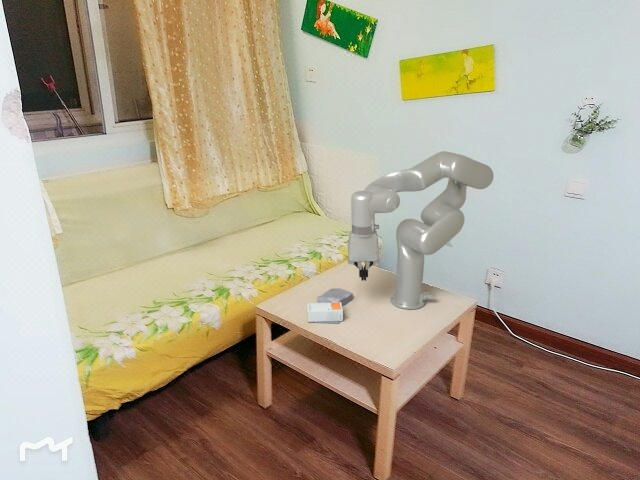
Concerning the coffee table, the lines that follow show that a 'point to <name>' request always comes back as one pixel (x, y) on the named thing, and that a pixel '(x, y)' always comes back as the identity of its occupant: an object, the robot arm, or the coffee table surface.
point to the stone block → (336, 296)
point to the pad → (329, 322)
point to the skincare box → (324, 312)
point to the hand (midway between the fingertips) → (363, 278)
